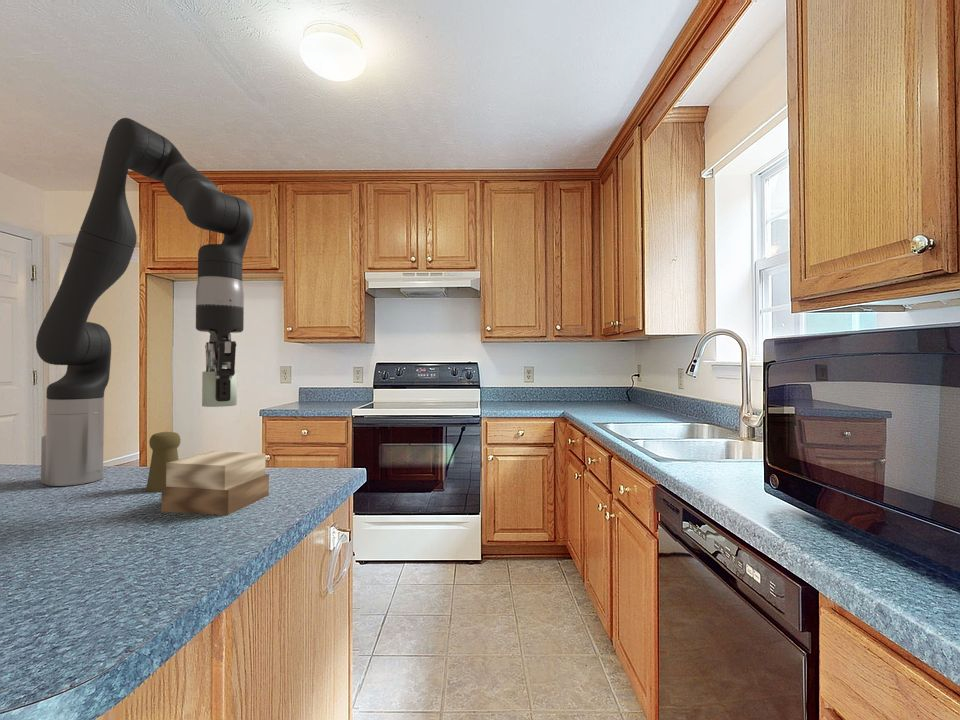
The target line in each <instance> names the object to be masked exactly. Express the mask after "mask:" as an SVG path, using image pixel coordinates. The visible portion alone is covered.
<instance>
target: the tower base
mask: <svg viewBox="0 0 960 720" xmlns="http://www.w3.org/2000/svg"><path fill="white" fill-rule="evenodd" d="M269 491H270V473H265V475H264V476H262V477H259V478H256V479H253V480H251V481H248V482H245V483H243V484H240V485H237V486H235V487H232V488H229V489H226V490H214V489H197V488H180V487H166V486H165V487H162V492H161V501H160V503H161V508H160V509H161V513H175V514H177V513H179V514H194V513H196V514H197V513H198V514H199V515H214V514H216V515H217V516H229V515H232V514H234V513H236V512H237V511H239V510H242V509H244V508H247V507H248V506H250V505H252V504H254V503H256V502H259V501H260V500H262V498H263V499H264V497H265V498H267V497H269V495H270V492H269ZM266 496H267V497H266ZM216 515H215V516H216Z"/></svg>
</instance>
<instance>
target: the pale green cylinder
mask: <svg viewBox="0 0 960 720" xmlns="http://www.w3.org/2000/svg"><path fill="white" fill-rule="evenodd" d="M201 373H202V375H201V376H202V377H201V378H202V379H201V381H202V382H201V383H202V388H201V389H202V391H201V392H202V393H201V396H202V397H201V399H202V401H201V406H202V407H204V408H206V407H209V408H219V407H221V408H222V407H223V408H224V407H234V406H237V403H238V402H237V401H238V399H237V398H238V397H237V396H238V395H237V393H238V390H237V389H238V388H237V387H238V385H237V384H238V383H237V382H238V380H237V379H238V377H237V376H238V375H237V374H238V373H237V371H235V374H234V376H233V377H232V379H229V380H231V389H230V400H229V401H220V402H219V401H216V399H215V395H216V380H218V379H215V371H213V372H206V371H202V372H201Z"/></svg>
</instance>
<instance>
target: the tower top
mask: <svg viewBox="0 0 960 720" xmlns="http://www.w3.org/2000/svg"><path fill="white" fill-rule="evenodd" d="M266 466H267V465H266V453H261V452H238V451H237V452H234V451H215V450H212V451H209V452H205V453H204V452H203V453H201V454H198V455H191V456H188V457H185V458H181V459H179V460H176V461H172V462H168V463H166V487H180V488H197V489H214V490H226V489H229V488H232V487H235V486H237V485H240V484H243V483H245V482H248V481H251V480H253V479H256V478H259V477H262V476H264V475H265V474H266Z"/></svg>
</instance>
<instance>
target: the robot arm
mask: <svg viewBox="0 0 960 720" xmlns="http://www.w3.org/2000/svg"><path fill="white" fill-rule="evenodd" d="M101 159H102V160H101V163H100V167H99V172H98V176H97V180H96V183H95V187H94V191H93V194H92V197H91V199H90V202H89V206H88V208H87V211H86V213H85V216H84V218H83V220H82V223H81V226H80V228H79V231H78V234H77V237H76V240H75V243H74V246H73V248H72V249H73V250H72V253H71V256H70V259H69V261H68V265H67V268H66V270H65V273H64V275H63V277H62V280H61V283H60V285H59V288H58V290H57V293H56V294H55V297H54V298H53V300H52V303H51V304H50V306H49V308H48V311H47V312H46V314H45V317H44V318H43V321H42V322H41V324H40V326H39V330H38V332H37V335H36V341H35V349H36V353H37V355H38V357H39V358H40V359H41V360H42V361H43V362H45V363H46V364H50V365H54V366H67V367H66V372H65V374H64V375H63V376H61V378H60V379H58V380H56V381H54V382H52V383H50V384H48V386H47V387H46V395H45V396H46V407H45V408H46V409H45V410H46V412H45V414H46V415H45V417H46V419H45V420H46V421H45V435H43V436H41V441H40V442H41V444H40V445H41V449H40V450H41V453H40V456H41V457H40V461H41V462H40V484H44V485H46V486H49V487H50V486H51V487H63V486H64V487H65V486H75V485H81V484H87V483H92V482H93V483H94V482H96V481H99V480H103V478H104V444H105V443H104V442H105V441H104V440H105V439H104V437H105V435H104V434H105V432H104V431H105V425H104V424H105V391H106V388H107V387H108V384H109V381H110V372H111V371H110V370H111V360H112V340H111V336H110V334H109V332H108V331H107V329H106V327H104V326H102V325H101V324H99V323H96V322H90V321H87V320H88V319H89V316H90V313H91V310H92V309H93V307H94V305H95V303H96V302H97V301H98V299H99V298H100V297H101V296H102V295H103V294H104V293H105V292H106V291H108V290H109V288H111V286H113V285H114V284H115V283H116V282H117V281H118V280H119V279H120V278H122V276H123V275H124V274H125V272H126V271H127V269H128V268H129V265H130V262H131V260H132V256H133V253H134V251H135V248H136V245H137V239H138V238H137V231H136V227H135V223H134V220H133V217H132V214H131V211H130V207H129V205H128V200H127V194H126V186H127V185H126V184H127V177H128V172H129V170H130V171H132V172H135V173H137V174H139V175H140V176H143V177H146V178H148V179H152V180H155V181H159V182H161V183H162V184H163V186H164V189H165V191H166V192H167V193H168V194H169V196H170V197H171V198H172V199H173V200H174V201H175V202H177V203H178V204H179V205H180V206H182V209H183V210H184V213H185V215H186V218H187V220H188V221H189V223H190V224H192V225H194V226H196V227H197V228H199V229H201V230H204V231H205V230H206V231H209V232H214V233H218V234H221V235H222V234H223V239H222V242H221V243H210V244H204V245H201V246H200V247H199V248H198V253H197V282H196V283H197V284H196V289H195V329H196V330H197V331H199V332H203V333H209V341H207V342H205V345H204V348H205V372H213V371H215V379H218V380H216V395H215V399H216V401H219V402H220V401H229V400H230V389H231V380H229V379H232V377H233V376H234V374H235V372H236V369H235V366H236V353H237V352H236V349H237V348H236V347H237V342H236V340H232V334H236V333H242V332H243V331H244V326H245V325H244V324H245V323H244V319H245V316H244V313H245V312H244V311H245V310H244V307H245V303H244V302H245V299H244V298H245V295H244V293H245V292H244V286H243V285H244V284H243V260H244V256H245V251H246V249H247V245H248V242H249V237H250V235H251V232H252V229H253V225H254V213H253V210H252V207H251V206H250V204H249V203H248V202H247V201H246V200H245V199H242V198H240V197H238V196H234V195H231V194H227V193H226V192H225V193H224V192H221V191H220V190H219V188H218V187H217V186H216V184H215V183H214V182H213V181H212V180H211V179H209V178H208V177H207V176H205V175H204V174H203V173H202V172H201V171H199V170H197V169H196V168H195V167H194V166H191V164H190V163H189V162H188V161H187V160H186V158H185V157H184V156H183V155H182V153H181V152H180V150H179V149H178V148H177V147H176V145H175V144H174V143H172V142H171V141H170V139H168V138H167V137H165V136H164V135H161V134H160V133H158V132H156V131H154V130H152V129H151V128H149V127H147V126H144V125H143V124H141V123H140V122H138V121H136V120H134V119H132V118H129V117H122V118H119V119H118V120H117V121H116V122H115V123H114V124H113V126H112V128H111V130H110V132H109V134H108V137H107V140H106V143H105V147H104V151H103V154H102V158H101Z"/></svg>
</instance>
